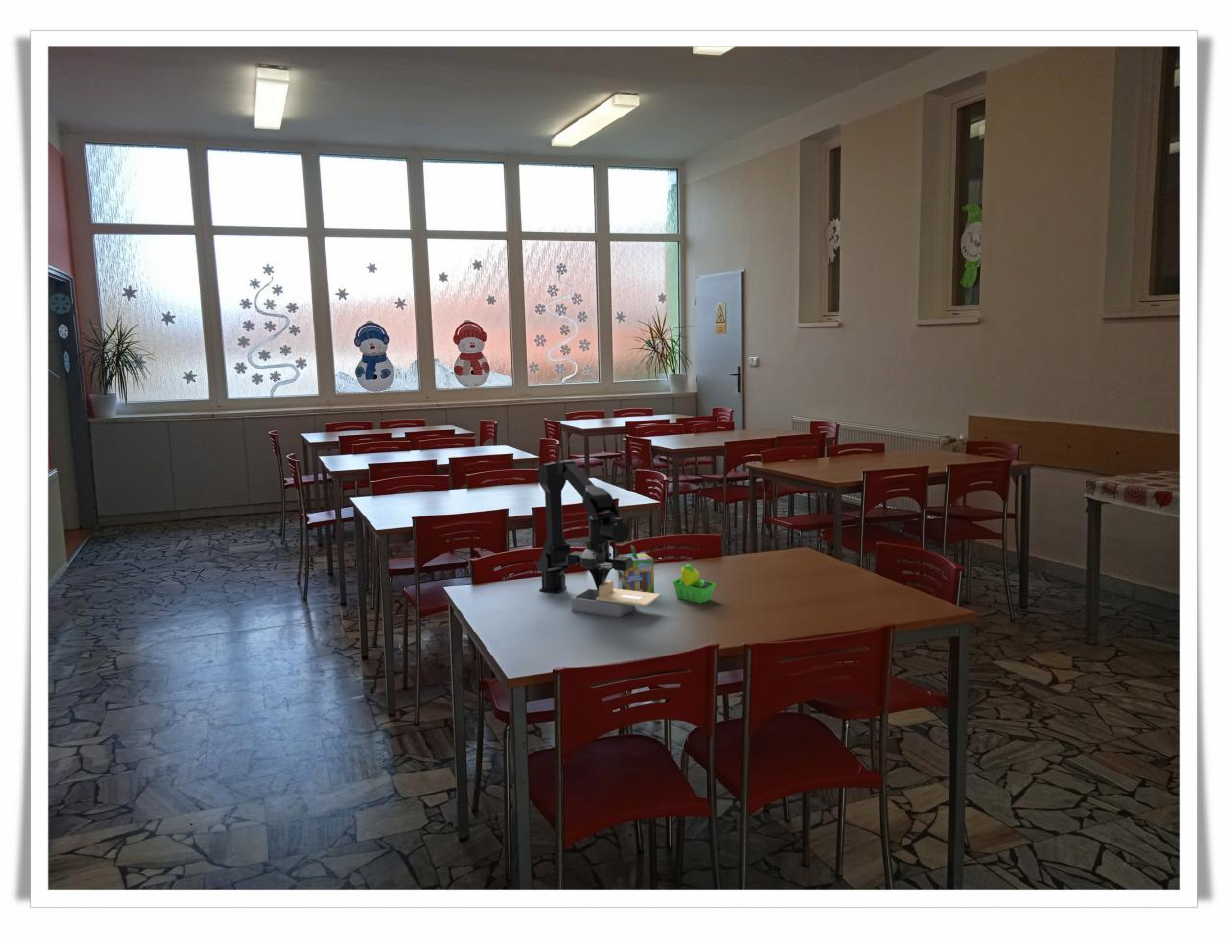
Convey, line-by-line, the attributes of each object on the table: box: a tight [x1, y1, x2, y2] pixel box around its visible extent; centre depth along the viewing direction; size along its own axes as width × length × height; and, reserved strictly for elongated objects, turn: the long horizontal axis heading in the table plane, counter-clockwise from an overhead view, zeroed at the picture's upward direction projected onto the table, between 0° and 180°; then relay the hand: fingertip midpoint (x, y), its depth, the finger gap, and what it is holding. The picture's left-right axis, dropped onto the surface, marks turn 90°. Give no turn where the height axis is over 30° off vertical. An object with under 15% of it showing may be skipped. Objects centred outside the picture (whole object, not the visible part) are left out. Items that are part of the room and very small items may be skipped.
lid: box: [596, 579, 661, 607], centre depth 240 cm, size 15×11×4 cm
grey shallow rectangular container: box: [571, 587, 636, 619], centre depth 243 cm, size 15×11×4 cm
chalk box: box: [617, 544, 655, 593], centre depth 259 cm, size 9×9×15 cm
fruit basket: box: [672, 564, 717, 604], centre depth 253 cm, size 11×9×11 cm
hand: (599, 590), depth 243 cm, fingers closed
